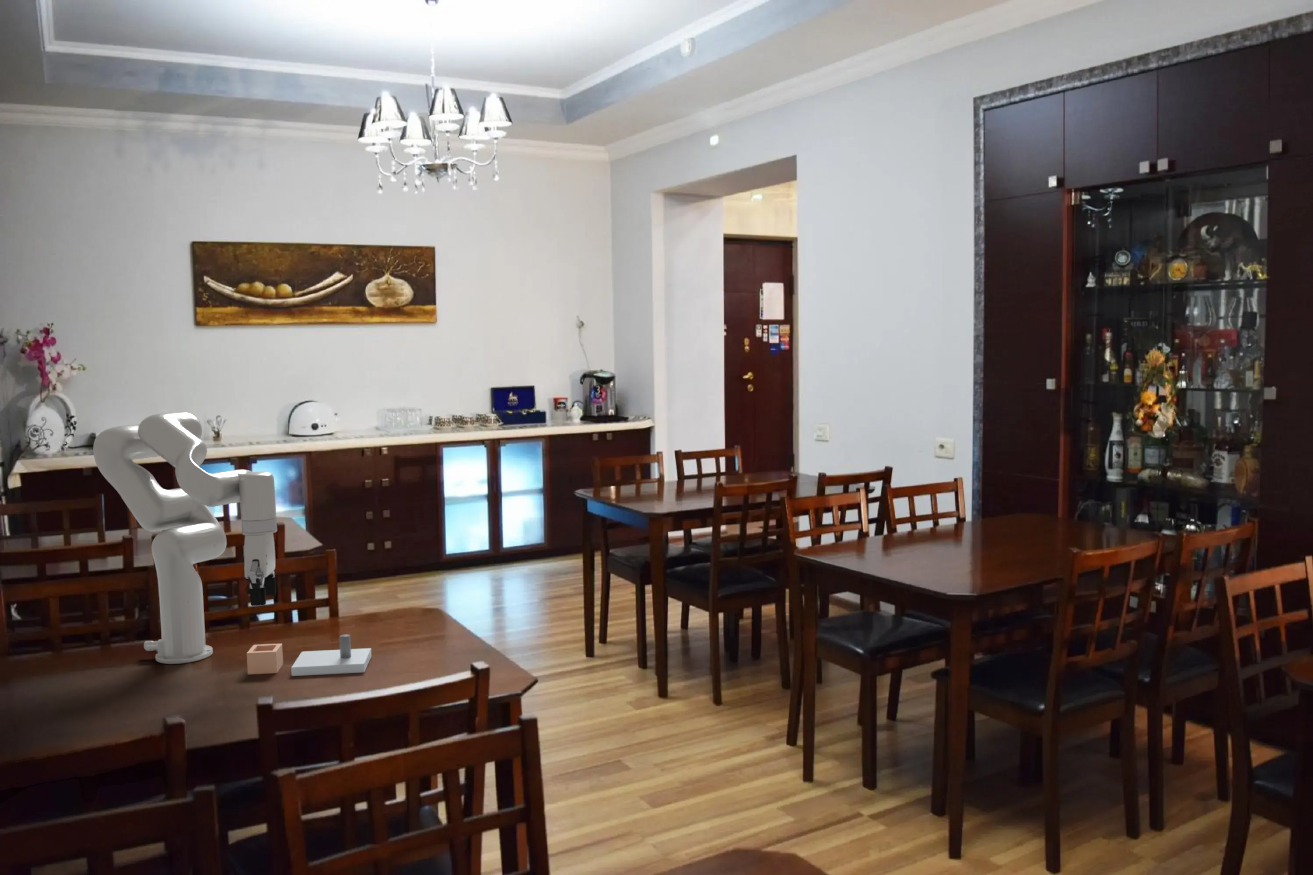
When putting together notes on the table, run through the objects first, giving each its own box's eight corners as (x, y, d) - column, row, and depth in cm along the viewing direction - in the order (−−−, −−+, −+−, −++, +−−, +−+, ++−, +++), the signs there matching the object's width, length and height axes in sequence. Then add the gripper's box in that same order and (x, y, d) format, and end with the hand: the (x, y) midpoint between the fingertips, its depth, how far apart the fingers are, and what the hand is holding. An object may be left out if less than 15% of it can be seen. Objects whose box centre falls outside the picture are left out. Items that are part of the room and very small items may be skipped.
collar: (247, 674, 236) (246, 652, 235) (254, 665, 242) (253, 644, 242) (277, 672, 237) (276, 651, 236) (283, 664, 243) (282, 643, 243)
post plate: (291, 675, 234) (290, 645, 234) (302, 659, 246) (301, 630, 246) (364, 672, 237) (363, 642, 236) (371, 656, 248) (370, 627, 248)
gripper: (251, 520, 244) (255, 592, 246) (231, 533, 227) (236, 610, 229) (284, 519, 245) (288, 590, 247) (267, 532, 228) (272, 608, 230)
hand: (263, 599), depth 238 cm, fingers open, 9 cm apart
